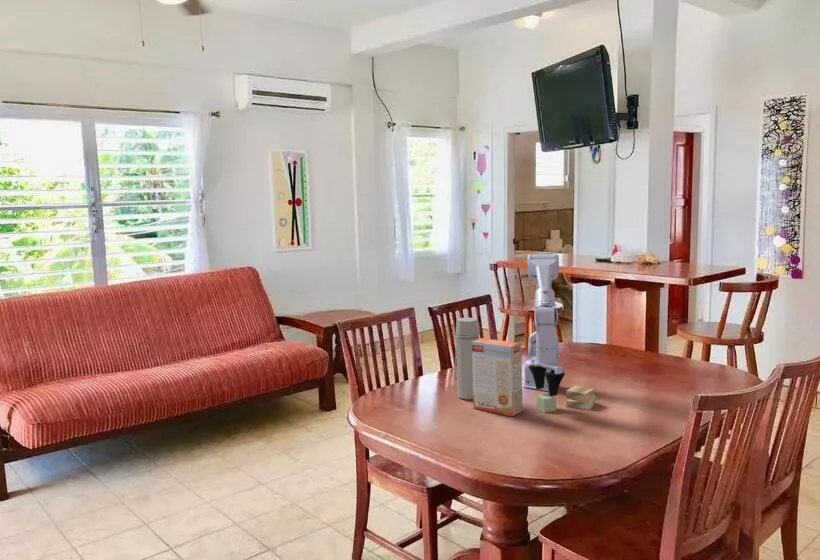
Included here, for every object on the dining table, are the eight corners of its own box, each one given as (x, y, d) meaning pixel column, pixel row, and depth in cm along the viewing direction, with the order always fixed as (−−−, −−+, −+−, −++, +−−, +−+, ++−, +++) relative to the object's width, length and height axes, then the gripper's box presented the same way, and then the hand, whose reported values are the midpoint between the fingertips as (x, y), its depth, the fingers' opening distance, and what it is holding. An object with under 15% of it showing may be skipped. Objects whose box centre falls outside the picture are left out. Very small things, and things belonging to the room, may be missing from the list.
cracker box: (523, 412, 197) (522, 342, 194) (512, 417, 193) (511, 346, 190) (484, 403, 206) (483, 336, 204) (472, 408, 202) (471, 340, 199)
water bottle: (485, 396, 214) (484, 318, 210) (470, 402, 208) (468, 322, 205) (462, 390, 220) (461, 315, 217) (447, 396, 214) (445, 319, 211)
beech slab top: (566, 398, 202) (566, 390, 201) (575, 393, 206) (575, 385, 206) (584, 402, 198) (584, 394, 198) (594, 397, 202) (594, 389, 202)
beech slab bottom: (566, 408, 200) (566, 400, 200) (571, 401, 207) (571, 393, 206) (590, 411, 197) (590, 403, 197) (595, 404, 204) (595, 396, 203)
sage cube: (537, 408, 200) (537, 395, 200) (548, 406, 201) (548, 393, 201) (544, 412, 196) (543, 399, 196) (556, 410, 198) (555, 397, 197)
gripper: (521, 343, 202) (522, 387, 204) (547, 353, 188) (547, 400, 190) (542, 341, 204) (542, 384, 206) (568, 351, 191) (568, 397, 192)
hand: (546, 392), depth 198 cm, fingers open, 7 cm apart
